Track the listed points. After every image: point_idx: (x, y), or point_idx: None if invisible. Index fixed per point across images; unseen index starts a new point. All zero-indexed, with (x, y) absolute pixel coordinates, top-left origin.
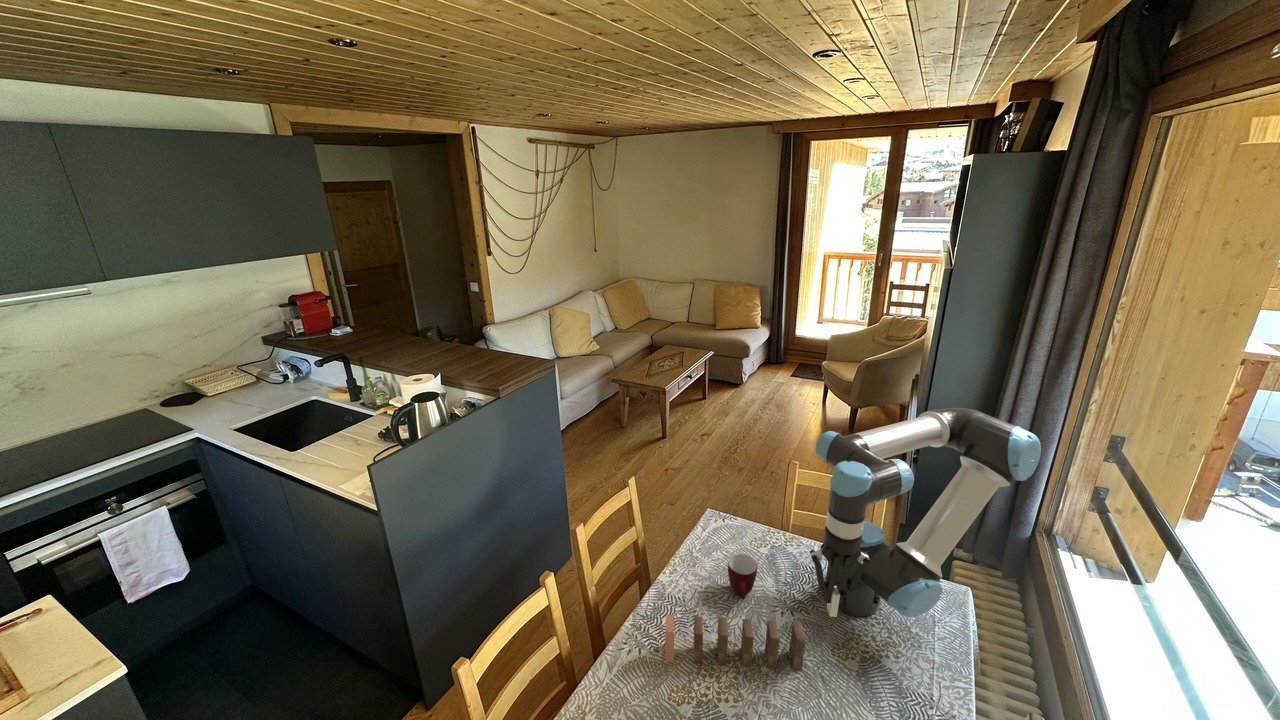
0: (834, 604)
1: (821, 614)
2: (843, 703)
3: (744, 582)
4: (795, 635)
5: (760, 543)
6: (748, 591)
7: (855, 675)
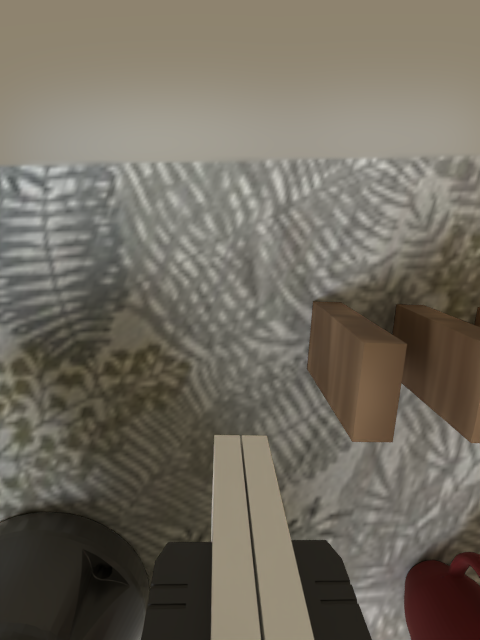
0: (256, 526)
1: (180, 512)
2: (205, 183)
3: None
4: (398, 369)
5: None
6: (432, 582)
7: (131, 290)
